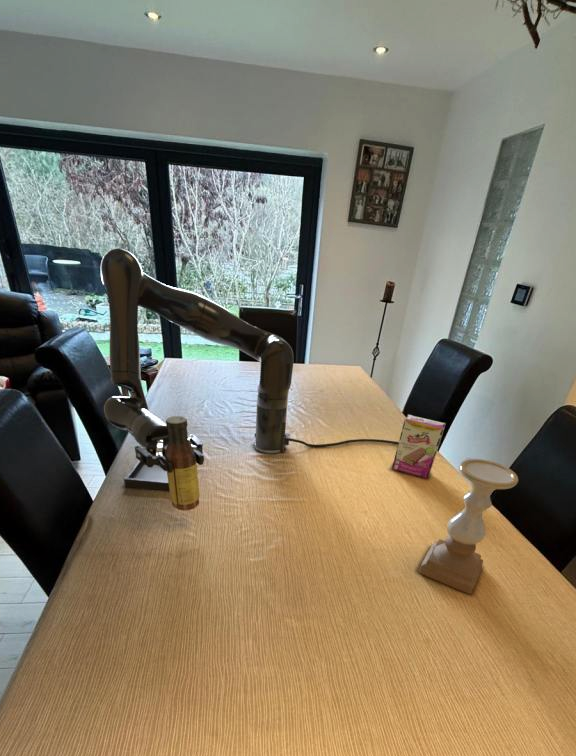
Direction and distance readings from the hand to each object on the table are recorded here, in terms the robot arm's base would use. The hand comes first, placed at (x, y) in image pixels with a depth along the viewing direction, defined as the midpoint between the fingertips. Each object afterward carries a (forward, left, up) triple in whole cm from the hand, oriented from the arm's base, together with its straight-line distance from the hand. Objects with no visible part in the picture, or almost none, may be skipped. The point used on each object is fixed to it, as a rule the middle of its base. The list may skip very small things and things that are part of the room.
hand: (186, 464), depth 85 cm
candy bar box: (-58, -39, -16) cm, 72 cm away
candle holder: (-57, +6, -16) cm, 60 cm away
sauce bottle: (+1, -2, -11) cm, 11 cm away
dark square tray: (+14, -23, -16) cm, 31 cm away
